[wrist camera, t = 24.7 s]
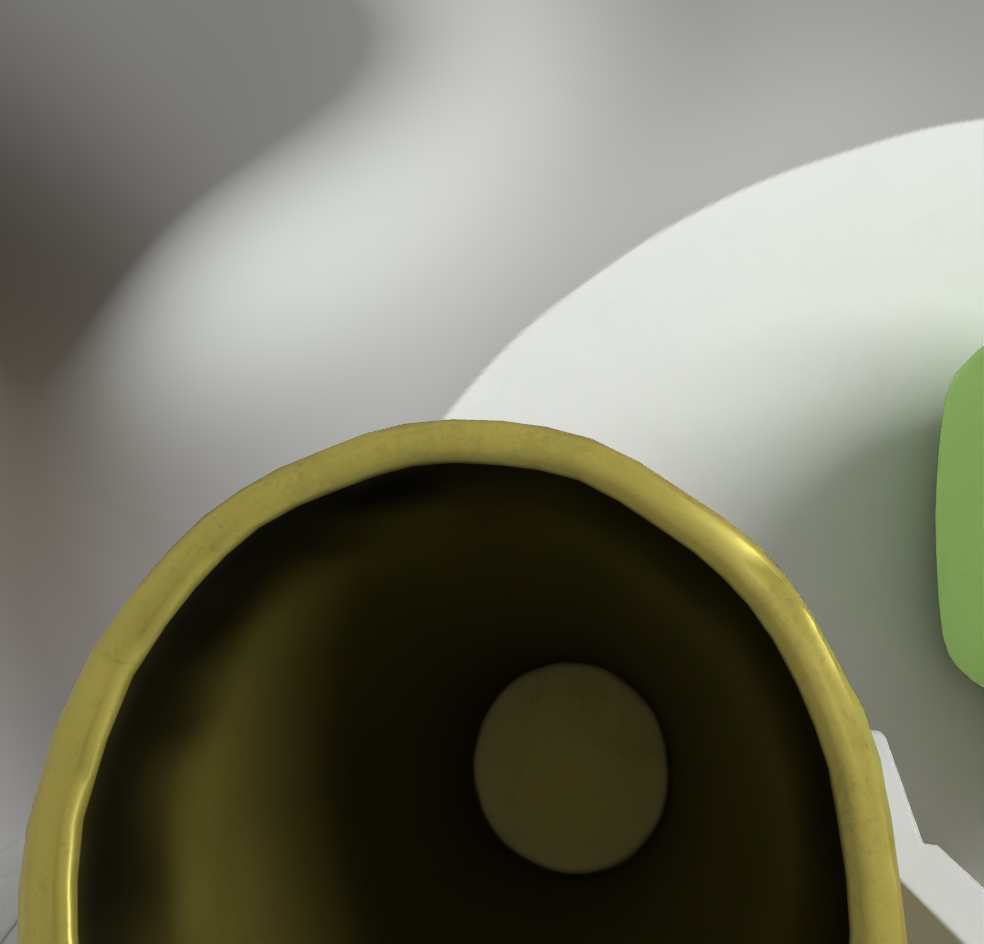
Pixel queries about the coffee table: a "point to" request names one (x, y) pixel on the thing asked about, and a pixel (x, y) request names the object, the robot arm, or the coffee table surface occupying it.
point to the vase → (462, 721)
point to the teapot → (962, 519)
